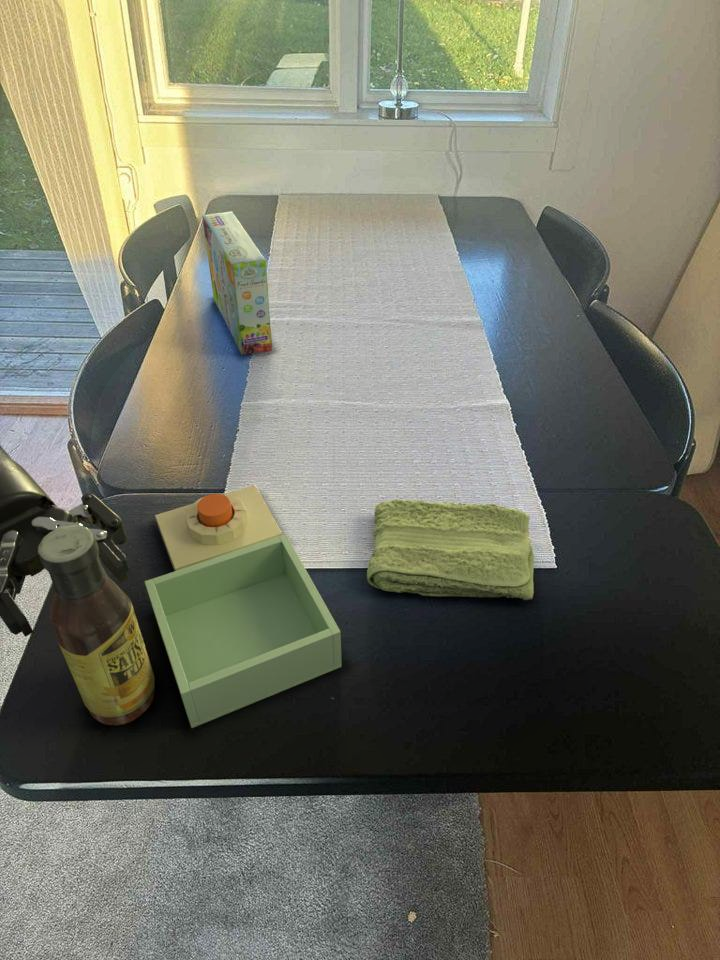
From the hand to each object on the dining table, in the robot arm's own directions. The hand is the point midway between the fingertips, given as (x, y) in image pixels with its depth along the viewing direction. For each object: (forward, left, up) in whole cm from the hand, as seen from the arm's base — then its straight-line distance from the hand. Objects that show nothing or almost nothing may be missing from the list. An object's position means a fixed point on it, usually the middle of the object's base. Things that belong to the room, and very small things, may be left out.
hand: (76, 600), depth 59 cm
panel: (+15, +13, -11) cm, 23 cm away
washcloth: (+37, -1, -11) cm, 39 cm away
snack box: (+33, +59, -11) cm, 68 cm away
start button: (+15, +13, -8) cm, 21 cm away
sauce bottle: (+1, -3, -11) cm, 12 cm away
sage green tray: (+13, -2, -11) cm, 17 cm away
